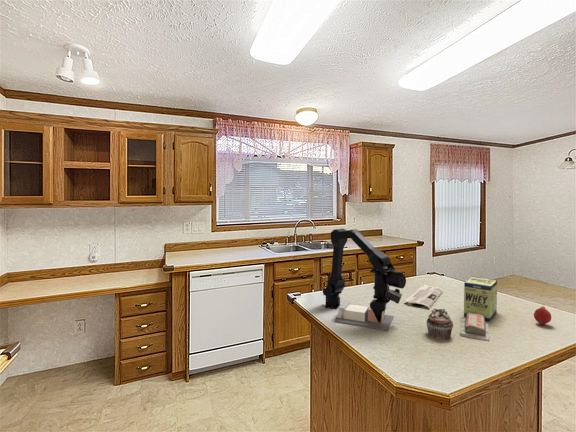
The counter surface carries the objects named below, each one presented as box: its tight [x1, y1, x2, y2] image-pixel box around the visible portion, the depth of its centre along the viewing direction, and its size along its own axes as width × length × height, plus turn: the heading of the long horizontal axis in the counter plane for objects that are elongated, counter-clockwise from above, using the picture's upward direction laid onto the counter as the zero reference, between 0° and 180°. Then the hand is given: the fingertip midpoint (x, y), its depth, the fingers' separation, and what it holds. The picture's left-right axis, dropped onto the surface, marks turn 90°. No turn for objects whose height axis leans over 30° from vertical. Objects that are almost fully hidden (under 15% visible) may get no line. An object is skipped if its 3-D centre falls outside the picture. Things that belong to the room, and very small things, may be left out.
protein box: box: [463, 276, 498, 322], centre depth 146 cm, size 10×16×16 cm
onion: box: [533, 305, 552, 326], centre depth 134 cm, size 6×6×8 cm
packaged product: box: [459, 313, 490, 342], centre depth 130 cm, size 18×5×10 cm
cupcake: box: [426, 308, 454, 340], centre depth 125 cm, size 10×10×10 cm
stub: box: [368, 306, 385, 323], centre depth 140 cm, size 6×5×5 cm
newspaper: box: [403, 283, 444, 310], centre depth 172 cm, size 35×12×4 cm, turn 144°
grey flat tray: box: [334, 301, 395, 332], centre depth 142 cm, size 23×16×6 cm
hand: (381, 318), depth 139 cm, fingers open, 8 cm apart
